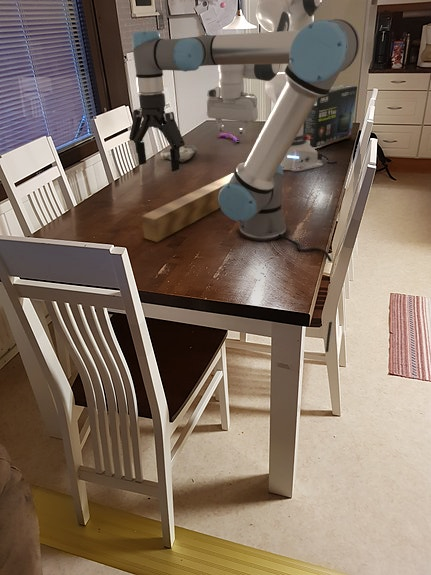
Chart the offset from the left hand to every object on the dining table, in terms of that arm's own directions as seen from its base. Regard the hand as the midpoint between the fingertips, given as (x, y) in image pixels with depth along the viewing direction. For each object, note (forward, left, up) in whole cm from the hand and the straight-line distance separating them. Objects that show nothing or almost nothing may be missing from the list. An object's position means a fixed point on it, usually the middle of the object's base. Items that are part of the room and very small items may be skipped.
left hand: (158, 167), depth 141 cm
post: (-2, -20, -22) cm, 30 cm away
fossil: (+47, -77, -22) cm, 93 cm away
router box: (-11, -132, -22) cm, 135 cm away
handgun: (+41, -120, -22) cm, 129 cm away
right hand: (-4, -40, +2) cm, 40 cm away
